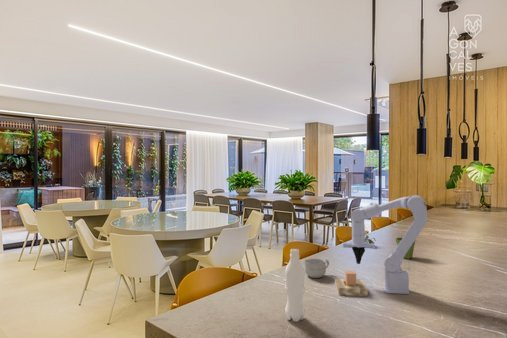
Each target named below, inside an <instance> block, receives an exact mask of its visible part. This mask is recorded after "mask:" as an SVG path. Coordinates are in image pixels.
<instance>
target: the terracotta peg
mask: <svg viewBox="0 0 507 338" xmlns="http://www.w3.org/2000/svg"><path fill="white" fill-rule="evenodd" d="M344 275H345V276H344V277H345V278H344V279H345V286H356V279H357V273H356V271H355V270H344Z"/></svg>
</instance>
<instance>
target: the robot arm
mask: <svg viewBox="0 0 507 338" xmlns="http://www.w3.org/2000/svg"><path fill="white" fill-rule="evenodd" d="M396 208H397V209H398V208H403V209H408V210H409V211H410V212H411V214H412V216H413V219H414V220H413V221H412V222H411V225H410V226H409V227H408V229H407V231H406V232H405V234H404V236H402V237H403V238H402V240H401V241H400V243H399V244H398V246H396V247H395V249H394V250H393V251H392V252H391V253H390V254H388V255H387V258H386V259H385V261H384V285H381V287H382V289H383V290H384V291H385V292H386V293H387V294H397V295H398V294H403V295H404V294H406V295H410V292H409V291H410V289H409V288H410V285H409V284H410V282H409V281H410V280H409V279H410V278H409V274H408V272H407V271H406V270H403V268H401V265H402V263H403V260H404V259H403V258H404V256H405V255H406V253H407V251H408V250H409V248H410V247H411V245H412V244H413V242H414V241H415V239H416V240H417V238H418V236H419V235H420V233H421V232H422V230H423V229H424V228H425V226H426V224H427V223H428V212H427V211H428V210H427V203H426V202H425V199H424V198H423V197H422V196H421V195H418V194H414V195H411V196H410V195H408V196H403V197H399V198H397V199H394V200H390V201H388V202H385V203H382V204H379V203H376V202H375V203H374V202H371V203H369V204H368V205H366V206H360V207H359V208H356V209H354V210H352V211H351V212H350V218H351V223H352V224H351V242H341V246H342V248H343V249H346V248H347V249H348V248H351V249H352V252H353V254H354V258H355V262H356V265H360V264H361V261H362V259H363V258H362V257H363V256H364V254H365V252H366V249H373V250H375V248H376V244H375V243H374V244H373V243H372V244H370V243H369V242H368V243H366V242H365V232H366V231H365V229H366V228H365V225H366V224H365V220H369V219H371V218H372V219H373V218H375V217H379V216H381V214H382V212H384V211H389V210H392V209H396ZM415 242H416V241H415Z"/></svg>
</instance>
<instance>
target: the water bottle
mask: <svg viewBox="0 0 507 338" xmlns="http://www.w3.org/2000/svg"><path fill="white" fill-rule="evenodd" d="M299 250H300V249H298V248H291V249H290V253H289V257H290V258H289V261H288V264H287V265H286V268H285V270H284V274H285V276H284V277H285V281H284V283H285V285H284V290H285V292H286V296H287V298H286V299H287V300H286V305H285V309H284V312H285V316H286V318H287V320H289V321H291V320H292V321H293V322H295V323H297V322H299V321H302V320H303V319H304V318H305V315H306V314H305V313H306V309H305V308H304V303H303V301H304V300H303V297H304V292H305V291H306V287H305V275H306V272H305V267H304V266H303V264H302V263H301V260H300V257H301V256H300V251H299Z"/></svg>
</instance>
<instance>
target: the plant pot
mask: <svg viewBox="0 0 507 338" xmlns="http://www.w3.org/2000/svg"><path fill="white" fill-rule="evenodd" d="M403 237H404V236H401V237H395V238H394V239H395V243H396V245H397V246H398V244H399V243H400V241H401V240H402V238H403ZM416 241H417V238H416V239H415V241H414V242H413V244H412V245H411V247H410V248H409V250H408V251H407V253H406V255H405V256H404V258H407V259H406V260H409V259H410V258H411V259H413V256H414V249H415V245H416ZM397 246H396V247H397Z"/></svg>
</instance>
